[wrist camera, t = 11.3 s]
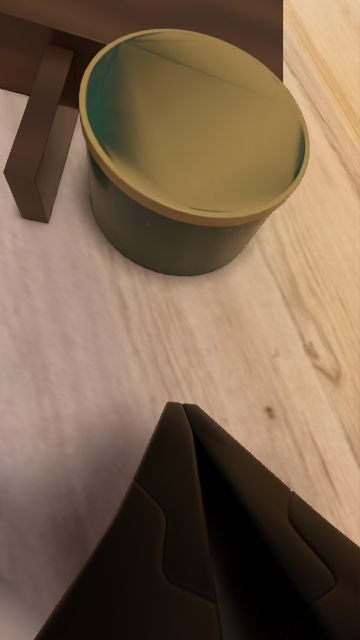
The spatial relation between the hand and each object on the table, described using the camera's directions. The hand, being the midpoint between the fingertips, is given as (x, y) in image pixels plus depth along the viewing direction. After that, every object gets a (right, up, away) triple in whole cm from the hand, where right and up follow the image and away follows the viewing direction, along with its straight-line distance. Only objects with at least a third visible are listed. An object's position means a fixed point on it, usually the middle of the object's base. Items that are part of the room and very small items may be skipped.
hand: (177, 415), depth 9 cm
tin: (0, +11, +15) cm, 18 cm away
